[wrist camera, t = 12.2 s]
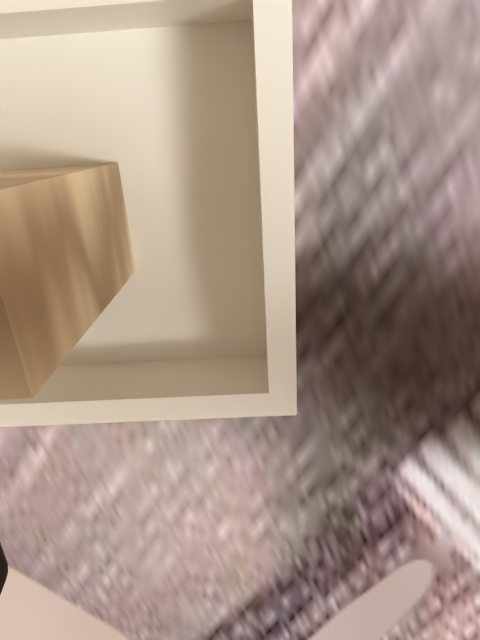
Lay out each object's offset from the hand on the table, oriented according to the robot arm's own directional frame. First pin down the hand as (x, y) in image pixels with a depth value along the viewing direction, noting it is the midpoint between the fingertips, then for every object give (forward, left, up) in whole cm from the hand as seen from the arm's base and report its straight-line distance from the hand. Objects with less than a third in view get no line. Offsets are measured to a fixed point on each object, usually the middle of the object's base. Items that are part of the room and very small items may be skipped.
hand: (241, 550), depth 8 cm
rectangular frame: (+6, -4, -12) cm, 14 cm away
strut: (+6, -4, -11) cm, 13 cm away
